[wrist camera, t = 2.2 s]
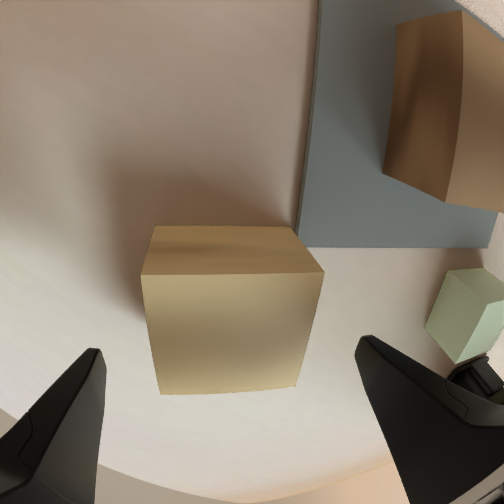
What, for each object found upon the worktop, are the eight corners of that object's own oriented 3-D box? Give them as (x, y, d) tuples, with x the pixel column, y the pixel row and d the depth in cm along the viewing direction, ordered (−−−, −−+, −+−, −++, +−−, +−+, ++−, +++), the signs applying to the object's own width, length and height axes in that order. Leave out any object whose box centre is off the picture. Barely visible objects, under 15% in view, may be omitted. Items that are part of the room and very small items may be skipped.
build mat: (483, 245, 16) (487, 248, 15) (293, 243, 13) (296, 247, 13) (511, 49, 10) (515, 49, 9) (321, -57, 7) (324, -60, 7)
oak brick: (273, 326, 15) (295, 386, 12) (163, 330, 14) (160, 394, 10) (288, 225, 13) (324, 272, 9) (155, 224, 12) (140, 275, 8)
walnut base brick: (474, 191, 13) (526, 217, 10) (382, 173, 12) (444, 202, 8) (488, 75, 10) (544, 82, 7) (396, 24, 9) (461, 9, 5)
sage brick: (460, 318, 19) (490, 349, 15) (423, 326, 18) (455, 364, 14) (482, 267, 17) (518, 295, 13) (446, 269, 16) (487, 304, 12)
